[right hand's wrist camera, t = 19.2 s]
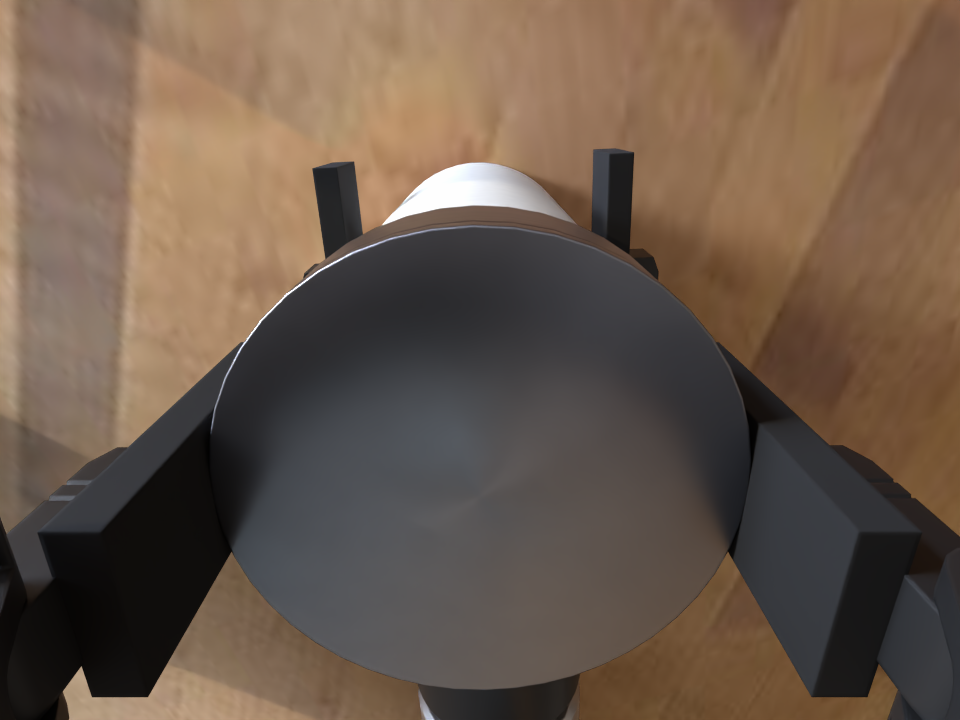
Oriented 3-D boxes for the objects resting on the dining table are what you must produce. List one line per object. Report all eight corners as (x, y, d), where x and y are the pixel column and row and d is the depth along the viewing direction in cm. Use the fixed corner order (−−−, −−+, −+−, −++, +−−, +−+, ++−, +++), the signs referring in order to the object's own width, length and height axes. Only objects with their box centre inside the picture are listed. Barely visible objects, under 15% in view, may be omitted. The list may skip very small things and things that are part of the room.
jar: (485, 119, 25) (495, 119, 8) (607, 263, 27) (807, 485, 11) (350, 253, 27) (146, 464, 11) (475, 376, 30) (469, 709, 13)
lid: (164, 440, 12) (101, 504, 10) (470, 86, 10) (469, 77, 8) (485, 667, 14) (487, 755, 12) (798, 427, 12) (861, 488, 10)
